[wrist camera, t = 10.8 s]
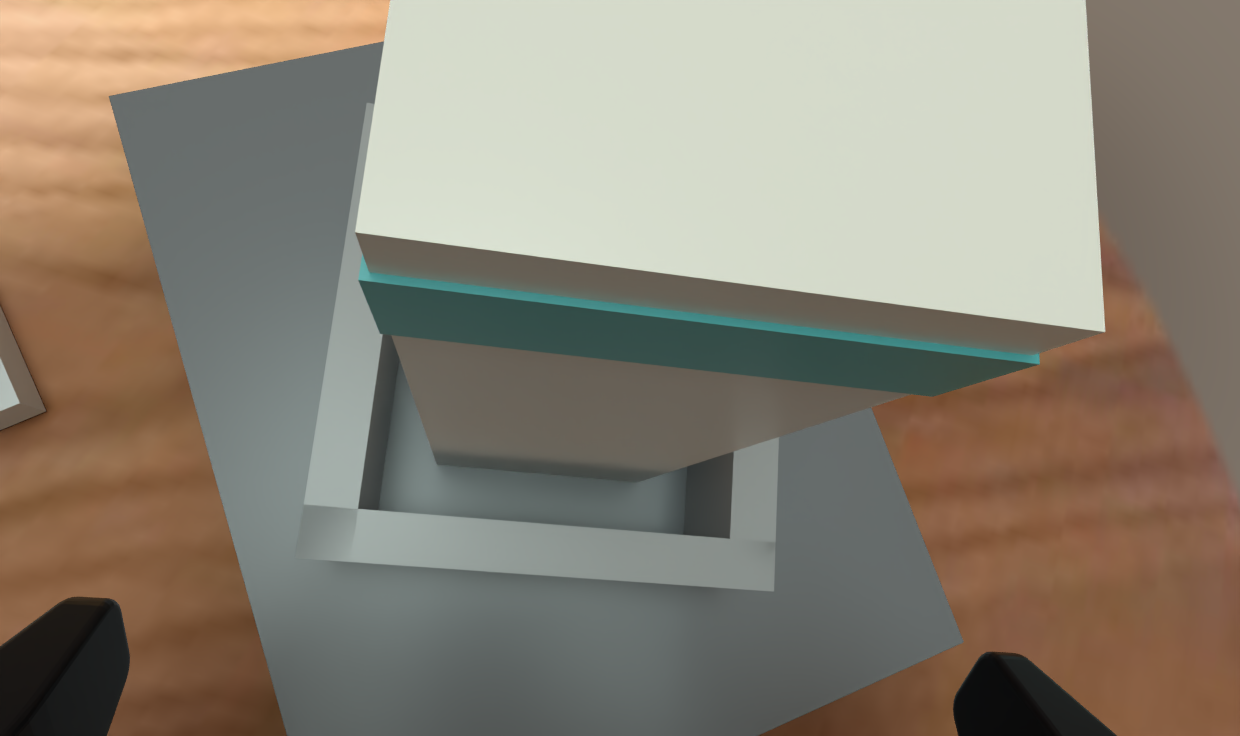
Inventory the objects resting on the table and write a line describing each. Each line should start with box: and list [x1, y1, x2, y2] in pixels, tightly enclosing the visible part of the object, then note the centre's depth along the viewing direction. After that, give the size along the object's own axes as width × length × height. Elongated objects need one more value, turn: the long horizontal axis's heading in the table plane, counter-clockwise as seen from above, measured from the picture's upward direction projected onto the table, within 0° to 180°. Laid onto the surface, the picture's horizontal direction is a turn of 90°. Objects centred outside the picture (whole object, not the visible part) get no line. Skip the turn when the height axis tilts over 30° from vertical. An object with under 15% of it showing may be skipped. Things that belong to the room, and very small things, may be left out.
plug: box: [355, 0, 1105, 482], centre depth 11 cm, size 4×4×12 cm
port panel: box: [109, 42, 963, 736], centre depth 16 cm, size 16×13×4 cm
